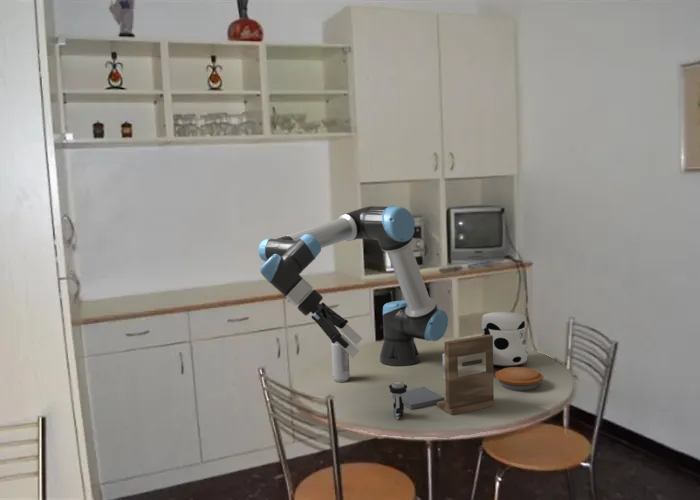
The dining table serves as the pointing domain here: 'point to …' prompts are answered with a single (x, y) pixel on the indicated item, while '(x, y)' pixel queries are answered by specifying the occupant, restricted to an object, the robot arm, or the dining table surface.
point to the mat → (419, 398)
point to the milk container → (506, 338)
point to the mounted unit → (468, 374)
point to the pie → (519, 378)
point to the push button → (398, 397)
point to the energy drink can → (340, 363)
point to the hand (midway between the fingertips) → (357, 347)
